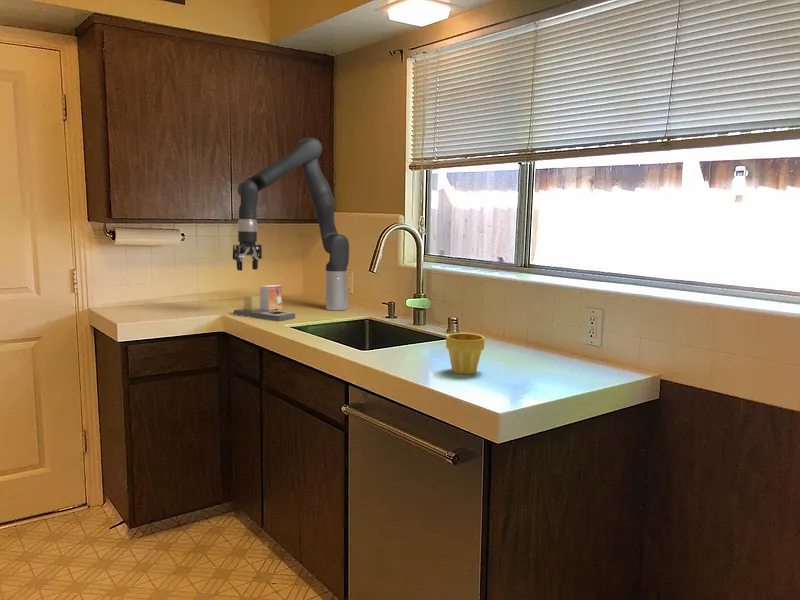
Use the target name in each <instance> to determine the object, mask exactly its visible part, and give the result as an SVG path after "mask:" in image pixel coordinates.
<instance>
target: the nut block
mask: <svg viewBox="0 0 800 600" xmlns="http://www.w3.org/2000/svg"><path fill="white" fill-rule="evenodd" d="M243 307H244V308H243V309H244V311H251V312H253V311H259V310H260V295H258V294H257V295H256V294H249V295H248V294H247V295H244V296H243Z"/></svg>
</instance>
